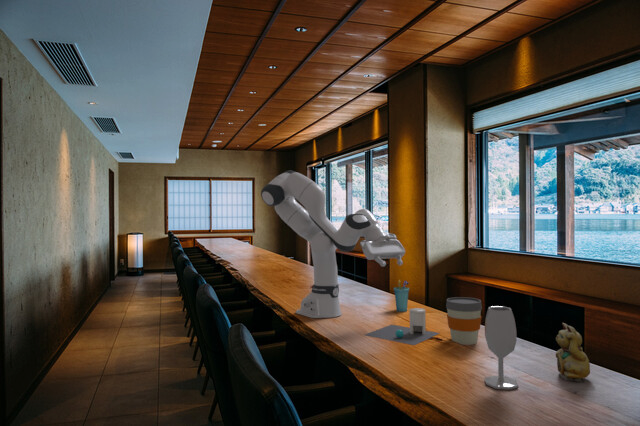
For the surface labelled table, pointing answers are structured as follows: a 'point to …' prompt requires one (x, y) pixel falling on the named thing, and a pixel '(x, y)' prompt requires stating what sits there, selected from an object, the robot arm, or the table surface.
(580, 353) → the decorative figurine
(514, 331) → the wineglass
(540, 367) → the table surface
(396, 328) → the charcoal mat
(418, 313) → the cream tumbler
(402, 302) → the cup
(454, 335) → the reusable coffee cup
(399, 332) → the teal marble
